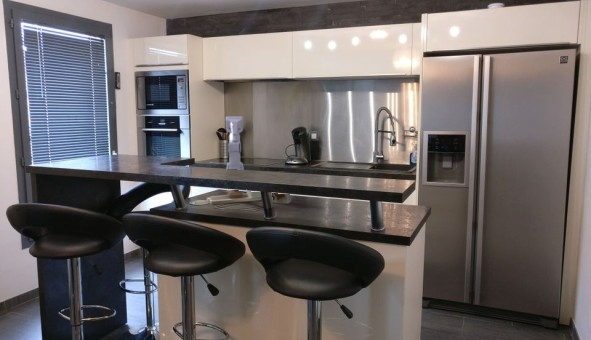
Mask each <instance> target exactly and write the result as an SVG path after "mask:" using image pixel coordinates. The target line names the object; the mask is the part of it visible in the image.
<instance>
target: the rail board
mask: <svg viewBox="0 0 591 340" xmlns="http://www.w3.org/2000/svg"><path fill="white" fill-rule="evenodd" d="M206 201H207V202H208V203H209V204H210V205H220V204H230V203H231V204H232V203H234V204H235V203H243V202H254V201H262V200H261V197H254V198H251V197H249V196H248V194H247V192H246V193H245V192H244V194H243V195H242V197H239V198H229V195H227V194H221V195H212V196H211V195H210V196H209V197H206Z"/></svg>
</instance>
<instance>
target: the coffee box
mask: <svg viewBox="0 0 591 340" xmlns="http://www.w3.org/2000/svg"><path fill="white" fill-rule="evenodd" d="M273 172H280V173H291V174H292V172H291V171H283V170H281V171H280V170H275V171H273ZM271 194H272V195H271V197H273V201H274V203H273V204H286V205H287V204H290V203H291V200H292V199H291V197H292V194H291V195H290V194H278V193H272V192H271Z"/></svg>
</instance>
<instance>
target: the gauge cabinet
mask: <svg viewBox="0 0 591 340" xmlns="http://www.w3.org/2000/svg"><path fill="white" fill-rule="evenodd" d="M246 193H247V194H248V196H249V197H251V198H254V197H261V194H260V192H251V191H247V190H246Z"/></svg>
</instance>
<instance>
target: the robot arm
mask: <svg viewBox="0 0 591 340" xmlns="http://www.w3.org/2000/svg"><path fill="white" fill-rule="evenodd" d="M225 128H226V132H228V133H229V135H228V136H229V137H228V140H229V141H228V144H227V145H228V149H227V151H228V157H229V158H228V159H229V161H228V162H227V163H226V170H227V169H237V170H244V171H245V168H244V167H245V166H244V164H243V162H242V161H241V152H242V144H241V135H240V133H241V132H243V130H244V116H228V115H227V116H226V117H225ZM225 191H226V193H227V190H225ZM234 191H238V190H234ZM243 194H245V192H244V191H243Z"/></svg>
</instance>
